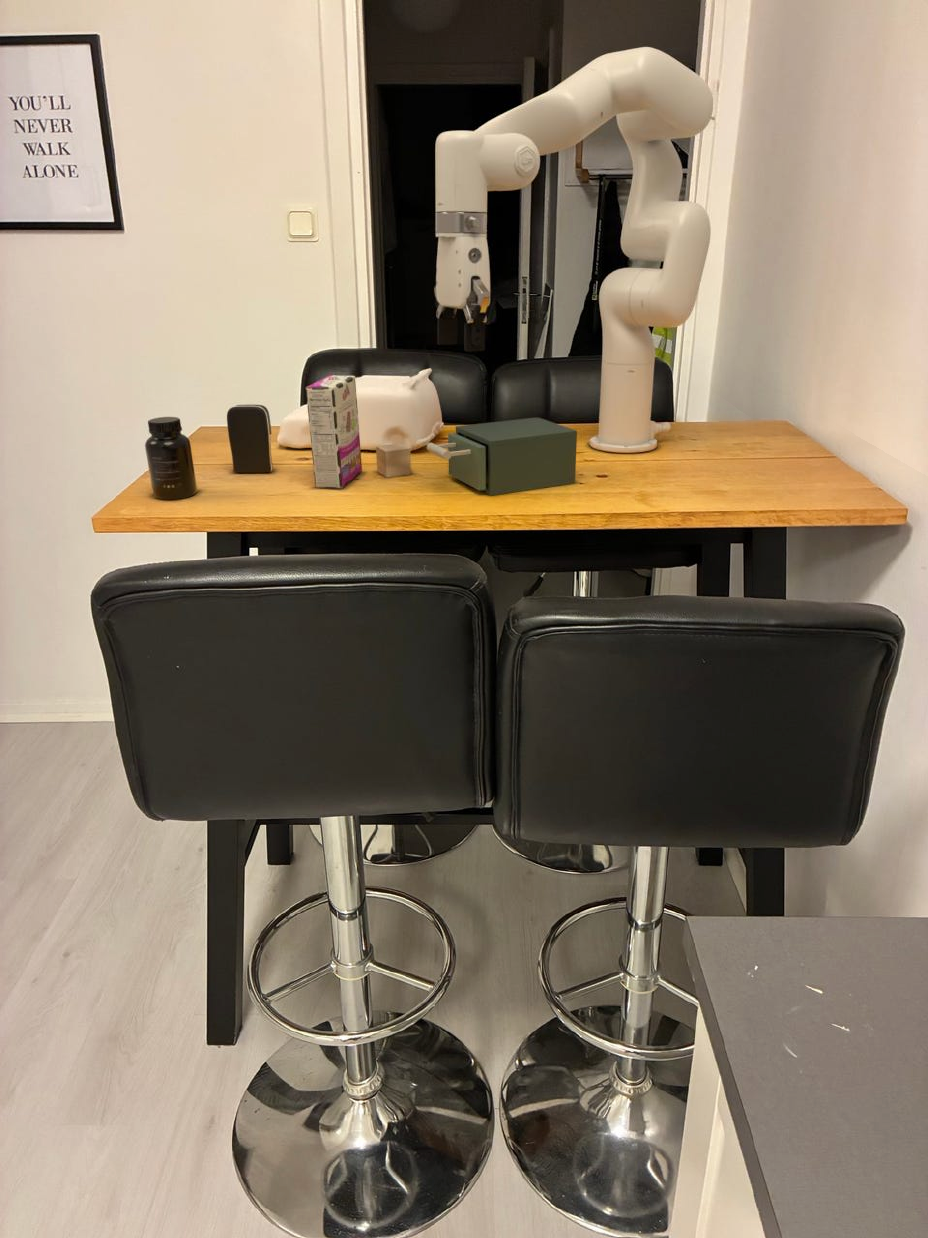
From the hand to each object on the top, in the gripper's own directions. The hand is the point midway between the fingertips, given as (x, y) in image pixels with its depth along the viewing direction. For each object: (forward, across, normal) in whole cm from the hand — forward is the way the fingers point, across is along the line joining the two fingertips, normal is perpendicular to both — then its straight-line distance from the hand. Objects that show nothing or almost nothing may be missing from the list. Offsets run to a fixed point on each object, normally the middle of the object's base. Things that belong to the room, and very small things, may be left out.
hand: (460, 347), depth 139 cm
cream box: (+22, +12, +7) cm, 26 cm away
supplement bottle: (+23, +16, +43) cm, 51 cm away
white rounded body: (+22, +38, +3) cm, 44 cm away
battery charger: (+22, +25, +28) cm, 44 cm away
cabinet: (+22, -2, -9) cm, 23 cm away
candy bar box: (+22, +12, +17) cm, 30 cm away
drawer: (+21, -2, -5) cm, 21 cm away
